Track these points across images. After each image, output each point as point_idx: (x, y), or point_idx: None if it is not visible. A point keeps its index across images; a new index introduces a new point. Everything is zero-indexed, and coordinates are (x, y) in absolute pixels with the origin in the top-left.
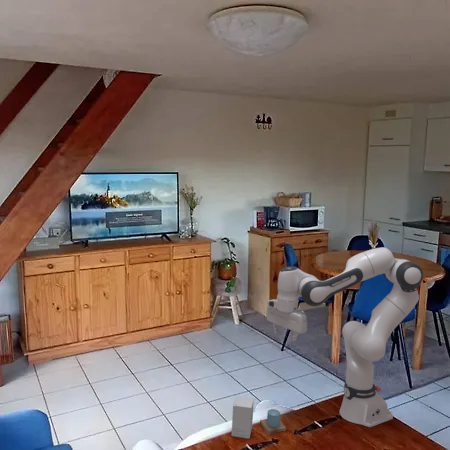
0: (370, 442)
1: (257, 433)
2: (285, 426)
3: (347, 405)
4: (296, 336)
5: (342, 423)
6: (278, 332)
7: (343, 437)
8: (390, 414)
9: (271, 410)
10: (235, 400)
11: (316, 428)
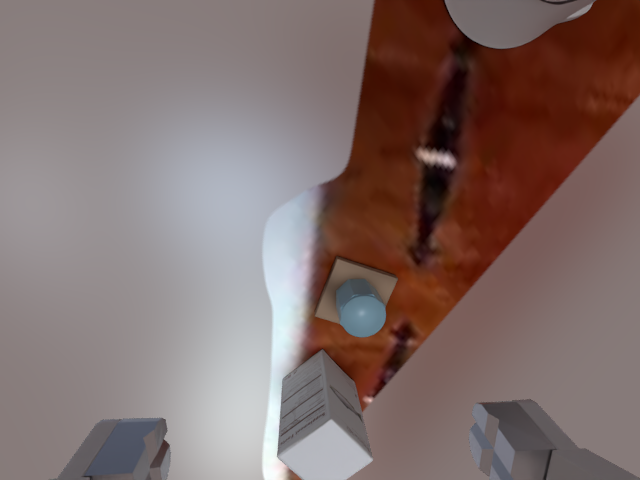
0: (615, 101)
1: (349, 350)
2: (389, 276)
3: (526, 16)
4: (592, 469)
5: (496, 79)
6: (155, 457)
7: (538, 153)
8: None
9: (349, 315)
10: (297, 473)
11: (450, 186)
